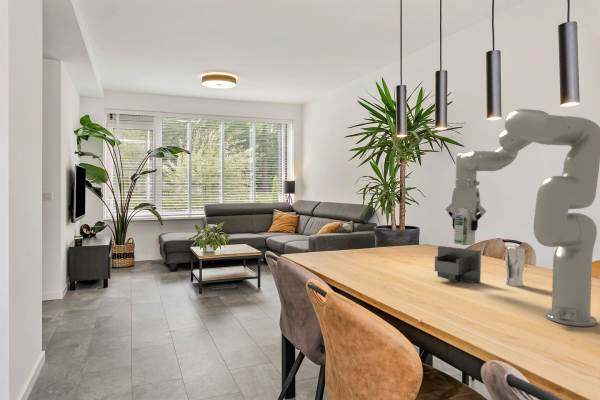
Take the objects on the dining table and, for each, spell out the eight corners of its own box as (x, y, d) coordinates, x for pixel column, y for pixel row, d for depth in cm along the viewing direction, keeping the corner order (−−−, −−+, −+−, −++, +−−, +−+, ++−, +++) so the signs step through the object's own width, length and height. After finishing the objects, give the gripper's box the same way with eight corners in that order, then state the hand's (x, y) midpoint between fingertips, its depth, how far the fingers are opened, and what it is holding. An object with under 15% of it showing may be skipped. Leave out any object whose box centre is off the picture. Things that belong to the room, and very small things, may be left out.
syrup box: (453, 243, 165) (454, 207, 164) (464, 242, 167) (465, 207, 166) (464, 245, 160) (465, 208, 159) (475, 244, 162) (476, 207, 161)
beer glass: (526, 287, 161) (527, 249, 160) (507, 286, 162) (508, 248, 162) (521, 283, 168) (521, 246, 167) (502, 282, 169) (503, 245, 168)
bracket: (467, 286, 162) (468, 253, 161) (426, 278, 175) (426, 248, 174) (480, 282, 169) (480, 250, 169) (439, 275, 182) (440, 245, 182)
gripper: (492, 184, 158) (491, 230, 159) (449, 184, 171) (448, 227, 172) (483, 184, 153) (482, 232, 154) (440, 184, 166) (439, 228, 167)
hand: (464, 229), depth 163 cm, fingers closed on syrup box, 6 cm apart
